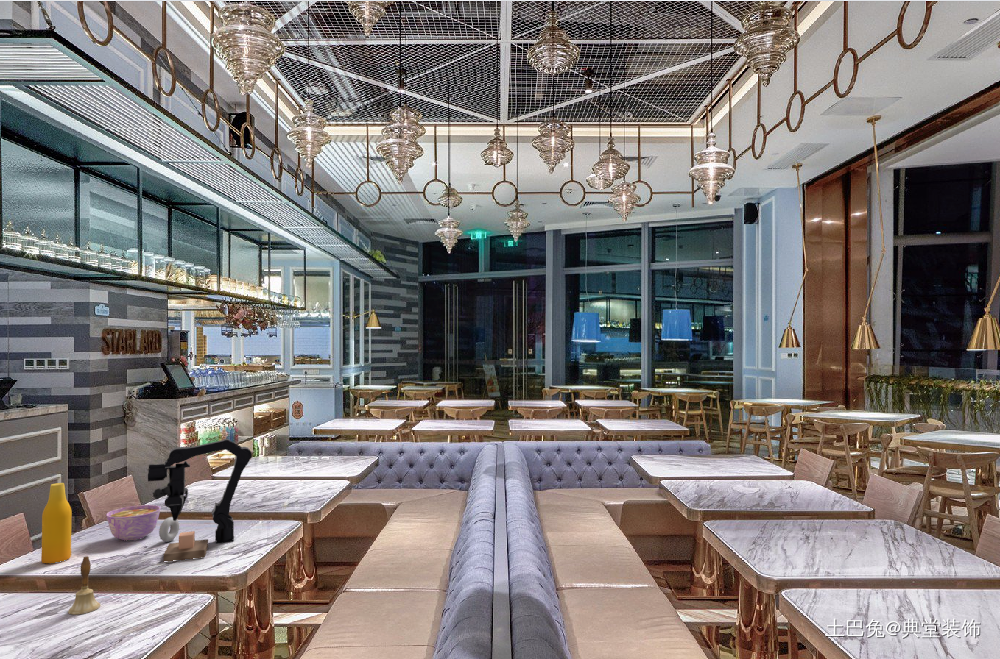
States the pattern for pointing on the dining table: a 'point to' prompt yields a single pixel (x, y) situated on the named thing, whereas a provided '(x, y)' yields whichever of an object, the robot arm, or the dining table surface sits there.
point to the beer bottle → (56, 526)
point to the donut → (165, 527)
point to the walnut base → (185, 551)
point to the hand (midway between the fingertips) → (176, 517)
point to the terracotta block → (186, 540)
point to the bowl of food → (133, 521)
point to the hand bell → (84, 593)
